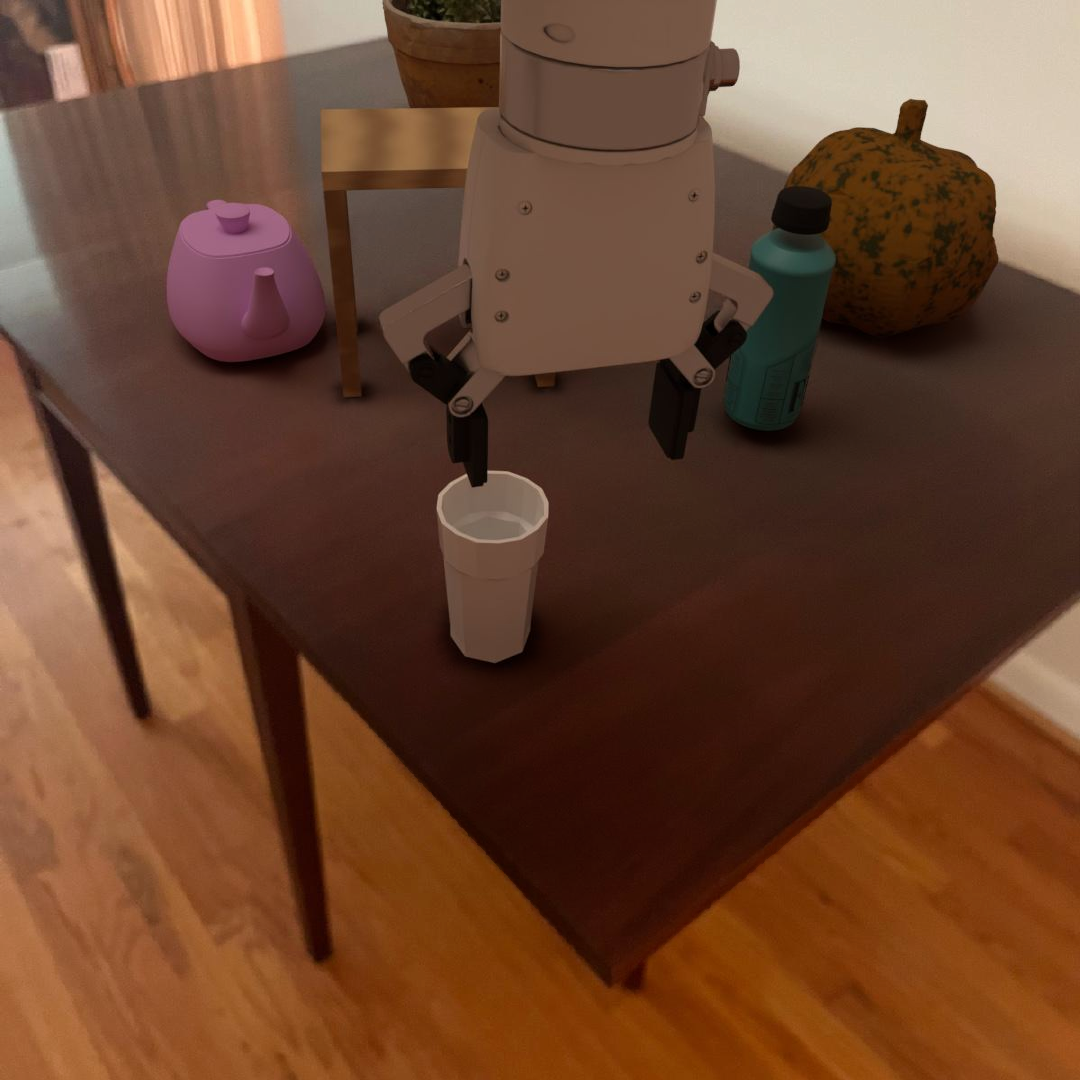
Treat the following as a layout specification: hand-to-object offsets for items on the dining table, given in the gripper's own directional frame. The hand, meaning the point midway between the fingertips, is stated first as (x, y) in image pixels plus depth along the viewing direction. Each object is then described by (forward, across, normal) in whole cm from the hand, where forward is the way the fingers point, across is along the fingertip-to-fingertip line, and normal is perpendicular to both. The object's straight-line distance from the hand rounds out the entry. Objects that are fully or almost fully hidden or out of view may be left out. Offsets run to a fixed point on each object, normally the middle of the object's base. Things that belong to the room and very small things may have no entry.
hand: (570, 455), depth 50 cm
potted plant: (+20, -15, -91) cm, 94 cm away
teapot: (+21, +14, -48) cm, 54 cm away
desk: (+20, -2, -42) cm, 46 cm away
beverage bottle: (+20, -25, -26) cm, 42 cm away
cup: (+21, +2, -8) cm, 22 cm away
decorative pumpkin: (+20, -44, -42) cm, 64 cm away
